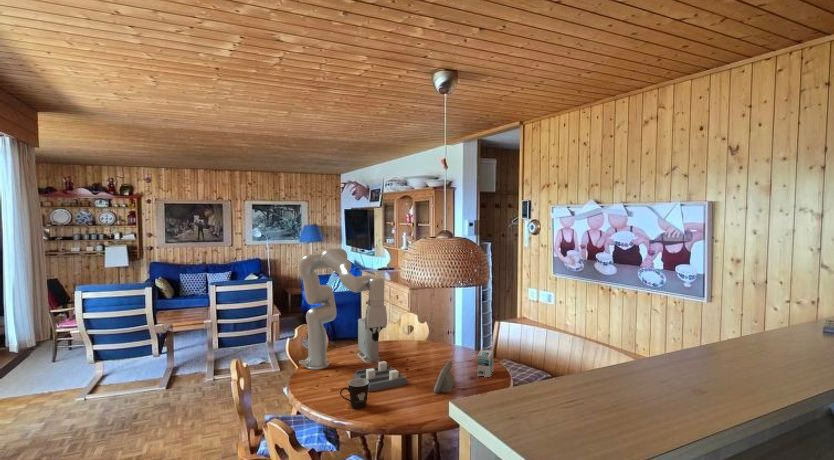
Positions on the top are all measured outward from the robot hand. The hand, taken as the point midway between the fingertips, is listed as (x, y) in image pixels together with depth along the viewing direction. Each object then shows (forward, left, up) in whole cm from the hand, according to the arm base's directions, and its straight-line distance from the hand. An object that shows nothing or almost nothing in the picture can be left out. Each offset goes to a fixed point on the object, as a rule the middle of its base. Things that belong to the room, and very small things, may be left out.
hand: (375, 340), depth 205 cm
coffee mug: (-18, -22, -20) cm, 35 cm away
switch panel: (+2, -1, -20) cm, 20 cm away
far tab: (+6, +6, -17) cm, 19 cm away
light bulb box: (+53, -17, -20) cm, 59 cm away
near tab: (+6, -8, -18) cm, 20 cm away
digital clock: (+25, -22, -20) cm, 39 cm away
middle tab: (-3, -1, -18) cm, 18 cm away
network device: (+9, +34, -20) cm, 40 cm away
